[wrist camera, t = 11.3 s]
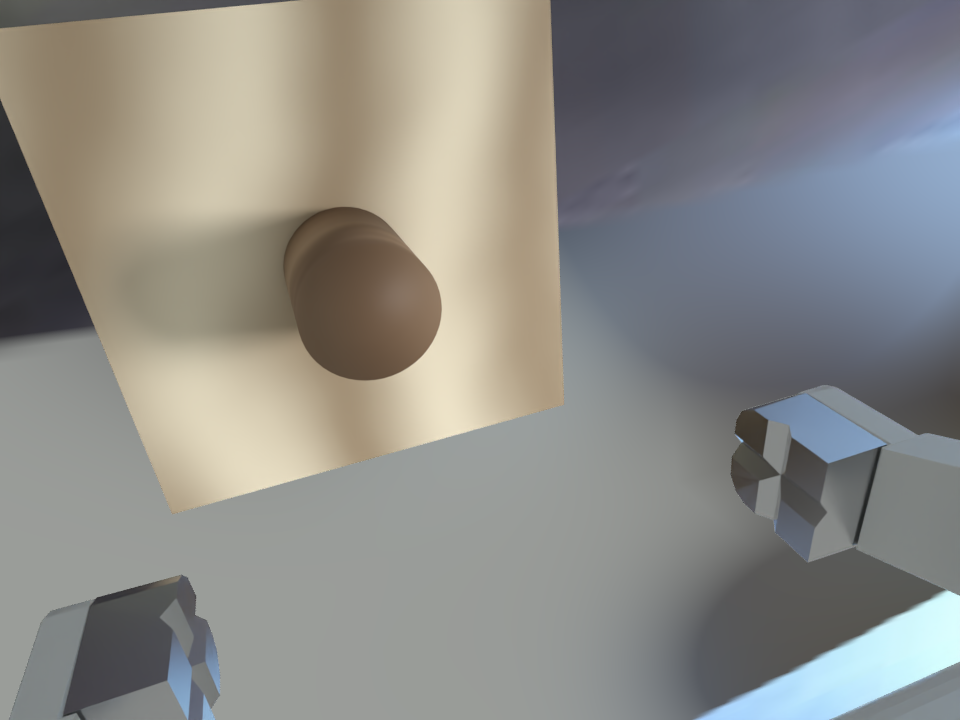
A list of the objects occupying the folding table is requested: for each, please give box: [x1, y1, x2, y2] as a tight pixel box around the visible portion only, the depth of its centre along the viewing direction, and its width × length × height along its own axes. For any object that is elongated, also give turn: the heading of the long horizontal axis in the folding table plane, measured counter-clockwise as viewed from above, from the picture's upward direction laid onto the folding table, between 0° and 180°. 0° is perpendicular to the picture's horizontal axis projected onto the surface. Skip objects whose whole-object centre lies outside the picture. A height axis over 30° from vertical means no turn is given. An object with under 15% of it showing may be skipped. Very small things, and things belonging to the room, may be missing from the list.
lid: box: [0, 0, 564, 514], centre depth 18 cm, size 14×14×5 cm
